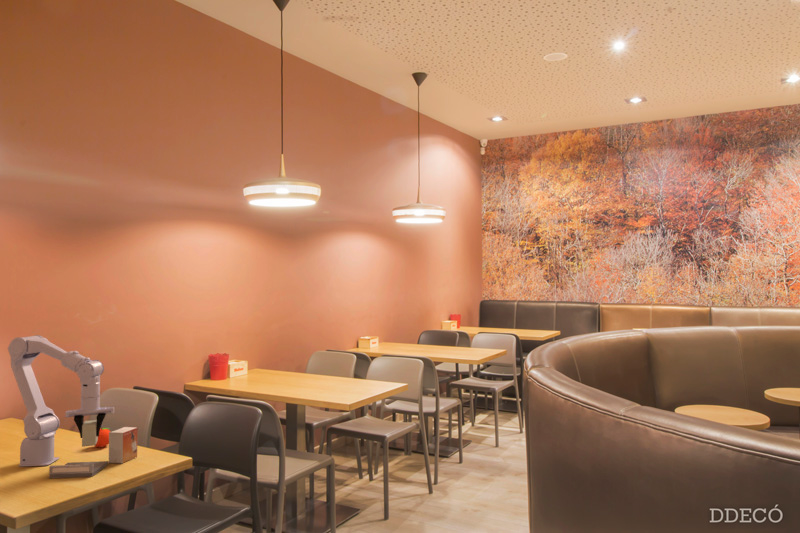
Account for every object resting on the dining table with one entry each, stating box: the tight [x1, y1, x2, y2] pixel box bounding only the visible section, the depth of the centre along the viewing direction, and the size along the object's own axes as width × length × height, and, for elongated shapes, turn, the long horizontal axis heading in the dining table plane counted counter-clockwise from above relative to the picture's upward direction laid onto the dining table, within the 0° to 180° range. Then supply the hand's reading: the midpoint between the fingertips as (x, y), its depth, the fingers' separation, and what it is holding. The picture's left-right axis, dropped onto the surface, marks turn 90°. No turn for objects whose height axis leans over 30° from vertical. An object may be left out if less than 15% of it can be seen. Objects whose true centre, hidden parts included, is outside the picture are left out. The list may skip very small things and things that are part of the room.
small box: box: [108, 426, 138, 464], centre depth 195 cm, size 8×6×10 cm
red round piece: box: [94, 427, 111, 448], centre depth 212 cm, size 8×7×7 cm
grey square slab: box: [48, 460, 109, 479], centre depth 183 cm, size 13×12×4 cm
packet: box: [81, 419, 98, 447], centre depth 191 cm, size 4×7×7 cm, turn 23°
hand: (89, 436), depth 190 cm, fingers closed on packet, 4 cm apart
